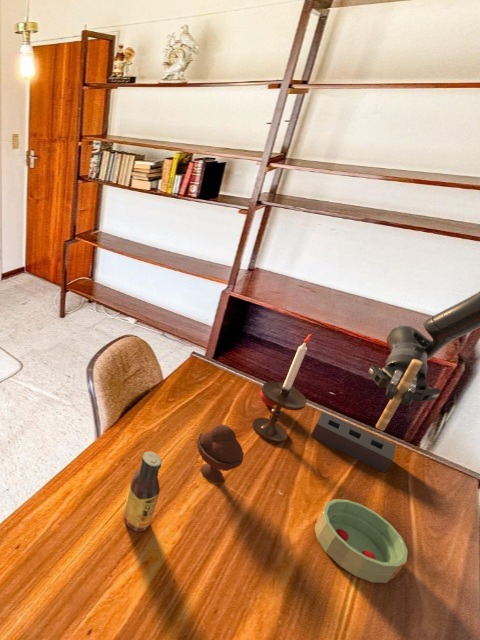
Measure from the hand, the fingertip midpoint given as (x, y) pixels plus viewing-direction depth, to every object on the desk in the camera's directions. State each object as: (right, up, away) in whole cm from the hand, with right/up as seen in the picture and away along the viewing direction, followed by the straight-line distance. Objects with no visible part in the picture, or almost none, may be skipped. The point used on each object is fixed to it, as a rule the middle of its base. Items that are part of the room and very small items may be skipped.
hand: (398, 398), depth 90 cm
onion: (-5, -14, +40) cm, 43 cm away
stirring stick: (+2, -9, +7) cm, 11 cm away
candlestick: (-11, -19, +29) cm, 37 cm away
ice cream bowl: (-35, -25, +15) cm, 46 cm away
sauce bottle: (-59, -29, +3) cm, 66 cm away
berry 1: (-13, -31, 0) cm, 33 cm away
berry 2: (-11, -33, -5) cm, 35 cm away
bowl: (-12, -33, -1) cm, 35 cm away
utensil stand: (+9, -22, +25) cm, 34 cm away
